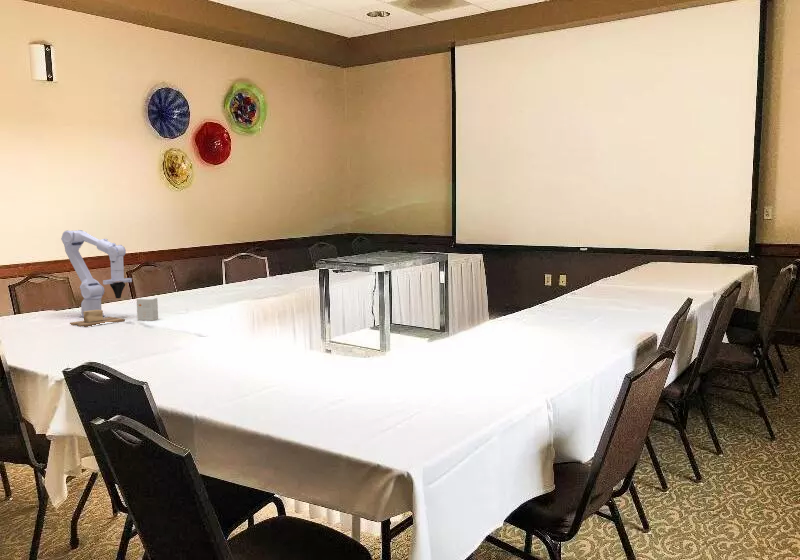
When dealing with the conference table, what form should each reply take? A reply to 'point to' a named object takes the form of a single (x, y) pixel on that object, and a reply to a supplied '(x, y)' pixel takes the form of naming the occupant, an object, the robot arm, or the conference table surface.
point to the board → (106, 319)
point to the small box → (147, 309)
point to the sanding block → (93, 316)
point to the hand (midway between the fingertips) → (118, 298)
